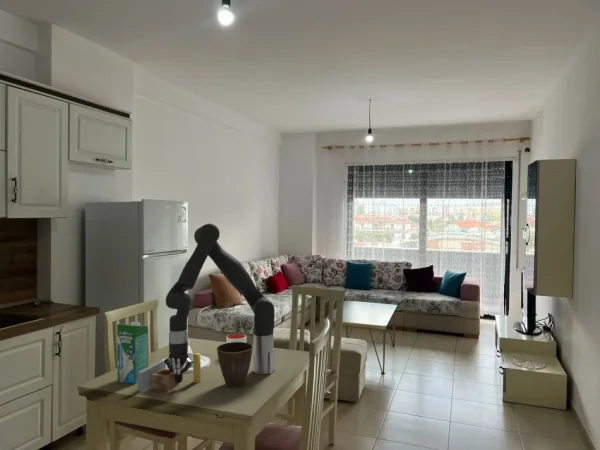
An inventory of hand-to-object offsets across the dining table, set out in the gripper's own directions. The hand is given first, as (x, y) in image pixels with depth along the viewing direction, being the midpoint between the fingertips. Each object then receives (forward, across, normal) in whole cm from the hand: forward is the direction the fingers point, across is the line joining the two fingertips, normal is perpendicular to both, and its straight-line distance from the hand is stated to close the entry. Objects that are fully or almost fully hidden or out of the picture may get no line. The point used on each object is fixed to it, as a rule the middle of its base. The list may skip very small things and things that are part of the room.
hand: (178, 382), depth 185 cm
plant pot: (+3, -20, -11) cm, 23 cm away
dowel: (+3, -3, -9) cm, 10 cm away
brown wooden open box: (+3, +6, 0) cm, 7 cm away
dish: (+3, +15, -27) cm, 31 cm away
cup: (+3, -3, -47) cm, 47 cm away
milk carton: (+3, +25, -3) cm, 25 cm away
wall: (+3, +13, 0) cm, 13 cm away
